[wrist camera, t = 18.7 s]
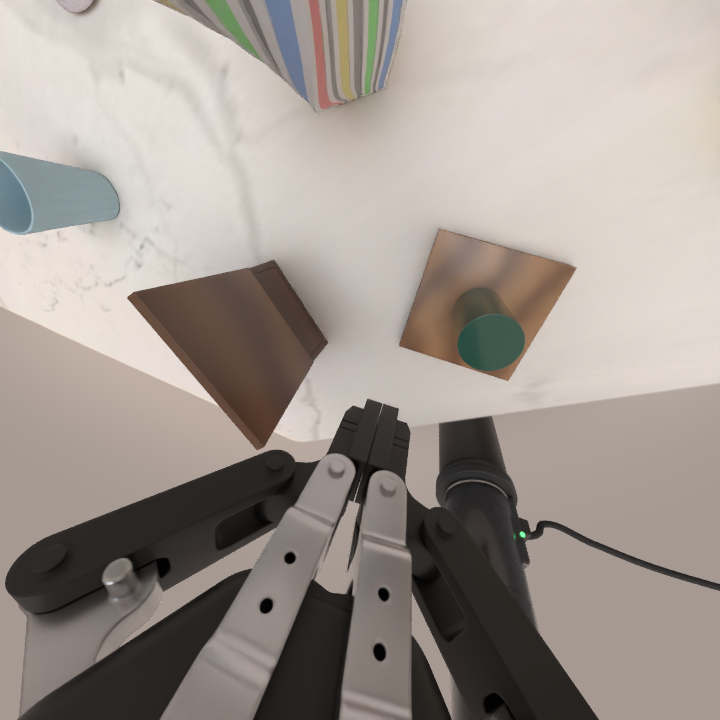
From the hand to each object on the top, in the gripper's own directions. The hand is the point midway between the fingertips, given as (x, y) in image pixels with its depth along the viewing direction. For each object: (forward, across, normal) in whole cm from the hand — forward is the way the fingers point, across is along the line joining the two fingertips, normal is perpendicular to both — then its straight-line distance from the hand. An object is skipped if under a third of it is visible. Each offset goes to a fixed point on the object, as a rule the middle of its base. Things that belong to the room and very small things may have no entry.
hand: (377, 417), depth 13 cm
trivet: (+24, -8, 0) cm, 25 cm away
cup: (+24, +42, 0) cm, 49 cm away
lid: (+10, +13, +5) cm, 17 cm away
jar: (+23, -8, 0) cm, 24 cm away
